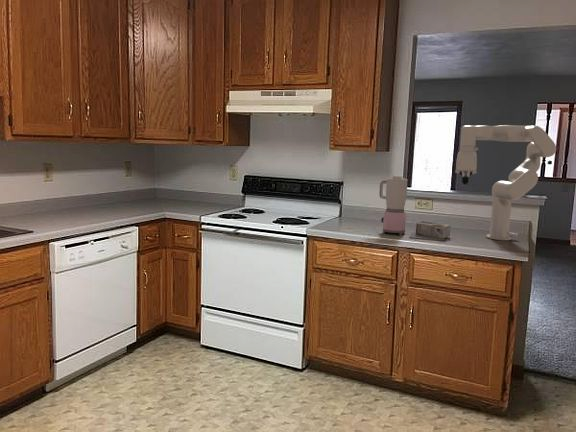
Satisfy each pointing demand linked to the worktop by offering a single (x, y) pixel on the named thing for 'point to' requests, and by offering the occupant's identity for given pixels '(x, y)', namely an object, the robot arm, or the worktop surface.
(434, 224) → the coffee box
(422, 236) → the mat
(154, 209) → the worktop surface
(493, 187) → the robot arm
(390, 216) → the blender
